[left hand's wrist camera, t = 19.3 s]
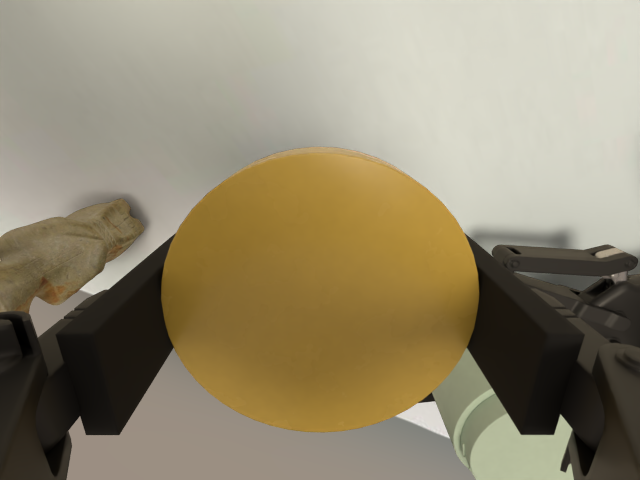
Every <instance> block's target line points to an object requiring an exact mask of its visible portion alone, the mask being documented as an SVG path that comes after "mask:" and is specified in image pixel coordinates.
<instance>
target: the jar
mask: <svg viewBox="0 0 640 480" xmlns="http://www.w3.org/2000/svg"><path fill="white" fill-rule="evenodd" d="M432 394H433V397H434V399H435V402H436V404H437V407H438V409H439V412H440V414H441V417H442V419H443V422H444V424H445V427H446V429H447V432H448V434H449V437H450V439H451V442H452V444H453V447H454V449H455V452H456V454H457V456H458V457H459V459H460V460H461V461H462V463H463V464H464V465H465V466H466V467H468V469H469V470H470V471H471V472H472V474H473V476H474V477H475V479H476V480H574V477H573V471H572V465H571V464H569V465H568V468H567V471H566V473H565V472H563V471H560V467H561V462H562V459H563V456H564V453H565V450H566V447H567V444H568V441H569V438H570V435H571V432H572V428H571V427H570V425H569V424H568V423H567V422H566V420H565V419H564V418H563V417H562V415H561V414H560V417H559V421H558V424H557V427H556V430H555V434H554V435H521V434H520V433H519V431H518V429H517V428H516V426H515V424H514V423H513V421H512V420H511V418H510V416H509V415H508V413H507V412H506V410H505V408H504V407H503V405H502V404H501V402H500V400H499V399H498V397H497V396H496V394H495V392H494V391H493V389H492V387H491V386H490V384H489V383H488V381H487V379H486V378H485V376H484V375H483V373H482V371H481V370H480V368H479V367H478V365H477V363H476V362H475V360H474V359H473V357H472V355H471V354H470V352H469V350H468V349H467V348H466V349H465V351H464V353H463V355H462V357H461V359H460V360H459V362H458V363H457V365H456V366H455V367H454V369H453V370H452V371H451V373H450V374H449V375H448V376H447V378H446V379H445V380H444V381H443V382H442V383H441V384H440V385H439V386H438V387H437V388H436V389H435V390H434V391H432Z"/></svg>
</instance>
